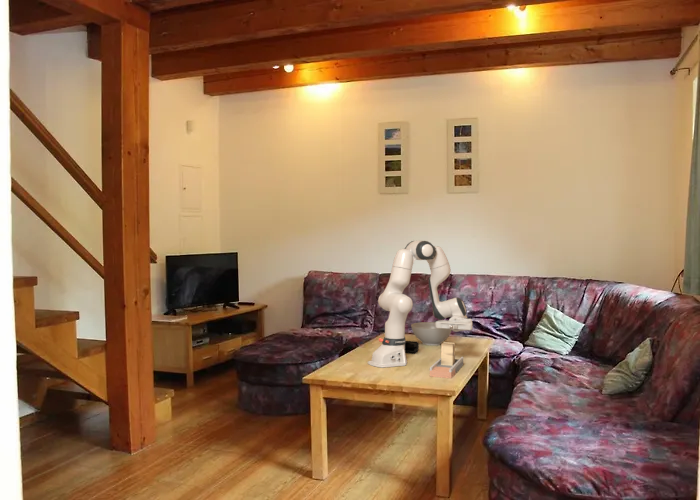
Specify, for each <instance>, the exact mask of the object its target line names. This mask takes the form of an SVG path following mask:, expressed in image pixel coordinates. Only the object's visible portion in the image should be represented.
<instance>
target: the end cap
mask: <svg viewBox="0 0 700 500" xmlns="http://www.w3.org/2000/svg"><path fill="white" fill-rule="evenodd" d="M419 348H420V345H419V341H414V340H413V341H412V340H405V354H409V355H410V354H411V355H412V354H413V355H415V354H417V353H418V351H419Z"/></svg>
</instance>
